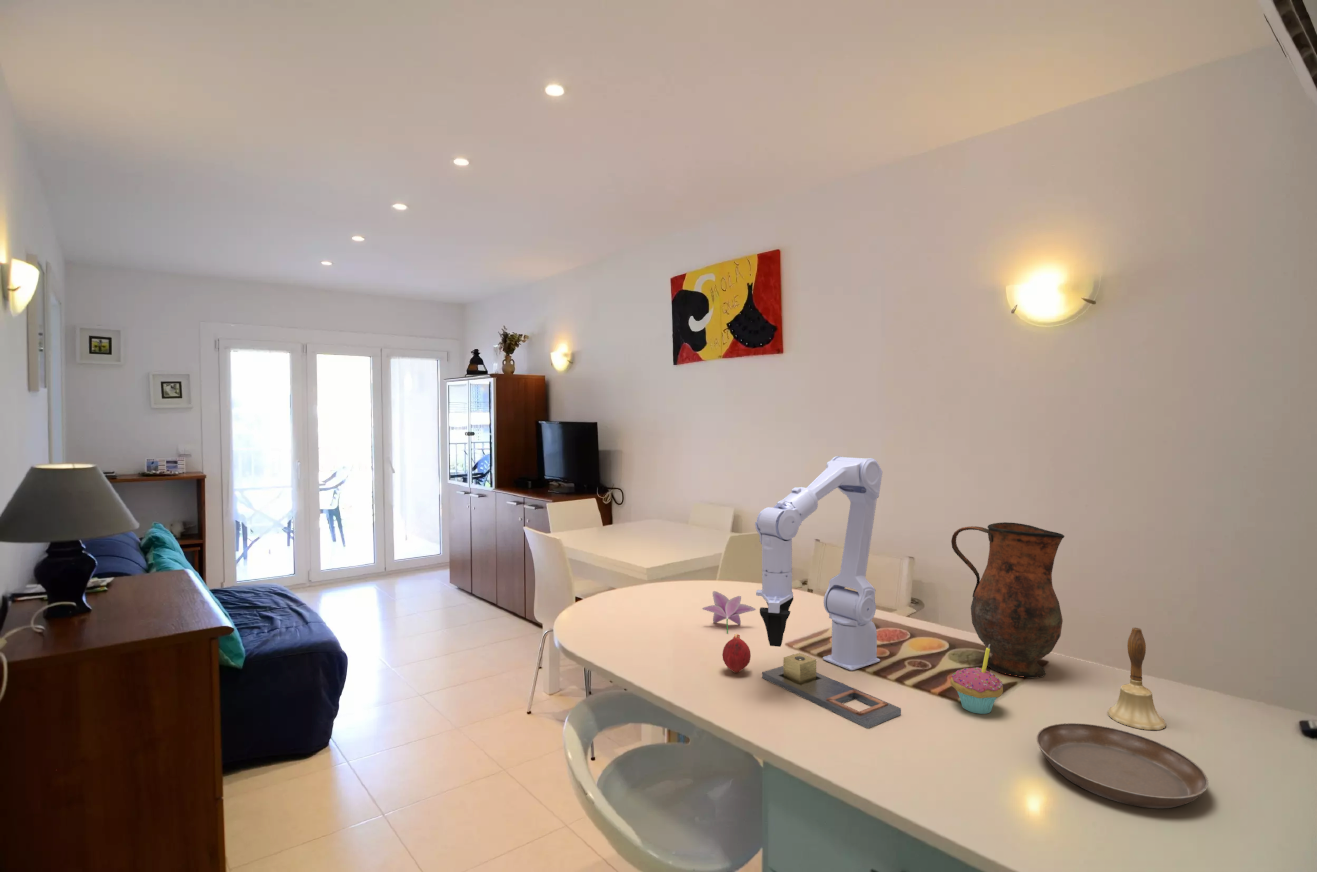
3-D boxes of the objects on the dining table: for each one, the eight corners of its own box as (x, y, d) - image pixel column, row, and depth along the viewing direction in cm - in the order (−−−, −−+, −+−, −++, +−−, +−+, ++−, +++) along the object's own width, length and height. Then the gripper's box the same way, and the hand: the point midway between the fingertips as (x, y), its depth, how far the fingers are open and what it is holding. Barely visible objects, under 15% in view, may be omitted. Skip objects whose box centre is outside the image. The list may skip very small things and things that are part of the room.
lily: (761, 634, 163) (758, 596, 167) (738, 627, 154) (734, 586, 159) (720, 641, 169) (717, 603, 173) (695, 634, 160) (693, 595, 165)
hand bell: (1096, 713, 117) (1098, 624, 117) (1126, 705, 120) (1128, 619, 120) (1146, 734, 109) (1148, 639, 109) (1177, 725, 113) (1179, 632, 112)
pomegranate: (749, 679, 132) (749, 639, 132) (721, 676, 134) (721, 638, 133) (751, 668, 138) (751, 630, 138) (724, 666, 139) (724, 628, 139)
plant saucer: (1211, 773, 98) (1211, 751, 98) (1204, 840, 82) (1204, 814, 82) (1052, 729, 112) (1052, 710, 112) (1020, 780, 96) (1021, 757, 96)
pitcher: (1056, 692, 126) (1059, 536, 125) (939, 666, 139) (941, 525, 138) (1067, 666, 139) (1069, 524, 138) (959, 644, 152) (961, 515, 151)
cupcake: (998, 702, 122) (999, 637, 121) (1006, 722, 114) (1007, 653, 113) (948, 695, 125) (948, 632, 124) (952, 715, 117) (953, 648, 116)
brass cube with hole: (799, 677, 134) (799, 652, 134) (816, 684, 130) (816, 659, 130) (783, 682, 131) (783, 656, 131) (800, 689, 128) (800, 663, 127)
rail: (793, 668, 138) (794, 661, 138) (900, 714, 117) (901, 706, 117) (762, 677, 133) (762, 670, 133) (867, 728, 112) (867, 720, 112)
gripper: (760, 560, 136) (760, 625, 136) (751, 577, 122) (752, 650, 122) (795, 562, 134) (795, 628, 135) (790, 579, 120) (790, 653, 121)
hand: (777, 638), depth 128 cm, fingers open, 7 cm apart
